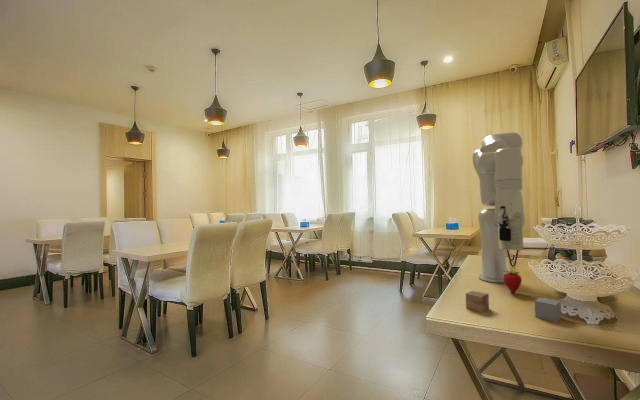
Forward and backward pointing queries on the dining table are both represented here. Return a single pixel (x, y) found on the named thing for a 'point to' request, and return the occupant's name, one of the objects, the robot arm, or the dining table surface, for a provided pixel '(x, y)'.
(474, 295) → the walnut block
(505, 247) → the skincare box
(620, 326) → the dining table surface
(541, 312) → the slate block
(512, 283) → the strawberry
